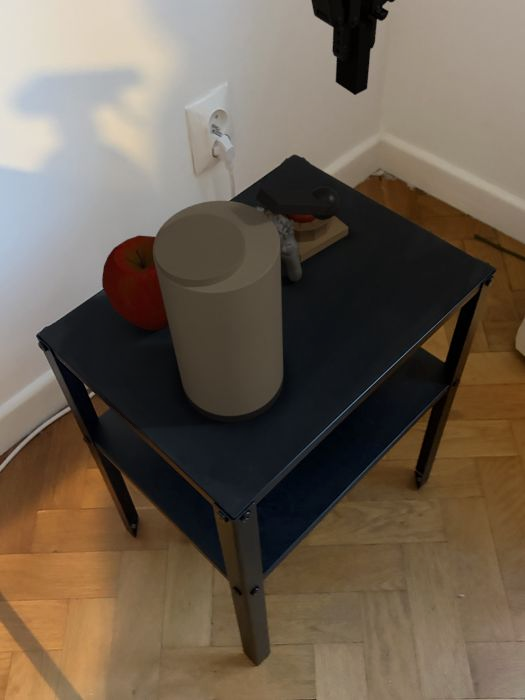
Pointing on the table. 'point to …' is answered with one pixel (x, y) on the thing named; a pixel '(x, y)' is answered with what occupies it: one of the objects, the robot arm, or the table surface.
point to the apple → (135, 283)
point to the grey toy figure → (287, 245)
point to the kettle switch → (300, 201)
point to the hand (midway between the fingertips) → (351, 85)
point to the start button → (301, 218)
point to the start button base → (315, 234)
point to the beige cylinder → (223, 306)
